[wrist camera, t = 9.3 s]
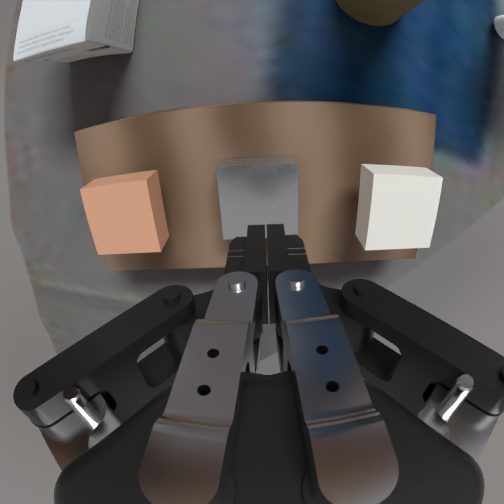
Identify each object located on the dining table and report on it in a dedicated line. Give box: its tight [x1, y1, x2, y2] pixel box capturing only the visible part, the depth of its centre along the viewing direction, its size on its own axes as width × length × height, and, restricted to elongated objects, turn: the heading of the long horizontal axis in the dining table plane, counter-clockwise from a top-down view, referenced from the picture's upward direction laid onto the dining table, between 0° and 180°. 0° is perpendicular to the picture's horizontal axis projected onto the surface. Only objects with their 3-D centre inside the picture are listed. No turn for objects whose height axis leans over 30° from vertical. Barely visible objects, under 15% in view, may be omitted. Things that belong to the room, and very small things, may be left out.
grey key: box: [216, 156, 298, 240], centre depth 17 cm, size 4×4×2 cm
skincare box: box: [14, 0, 139, 63], centre depth 12 cm, size 6×6×7 cm
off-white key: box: [355, 164, 443, 250], centre depth 15 cm, size 4×4×2 cm
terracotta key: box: [80, 170, 169, 255], centre depth 17 cm, size 4×4×2 cm
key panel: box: [74, 101, 436, 271], centre depth 20 cm, size 24×11×4 cm, turn 93°
